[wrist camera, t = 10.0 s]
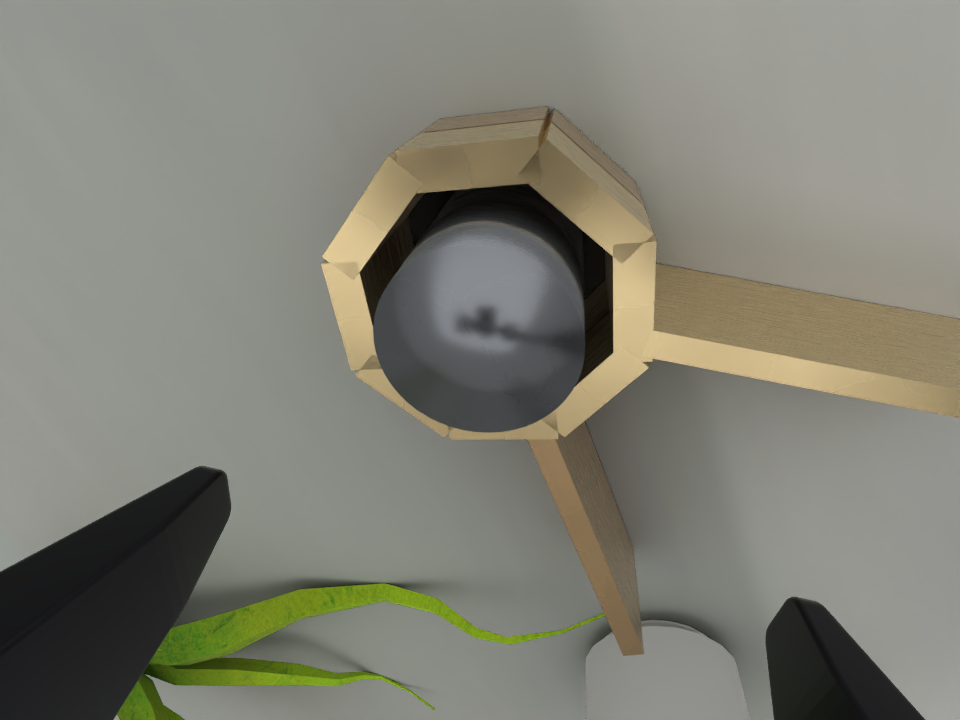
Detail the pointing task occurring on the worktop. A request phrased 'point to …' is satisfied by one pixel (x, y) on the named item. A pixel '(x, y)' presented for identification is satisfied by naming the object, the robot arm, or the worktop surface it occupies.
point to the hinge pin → (487, 312)
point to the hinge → (625, 317)
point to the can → (664, 678)
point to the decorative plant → (201, 642)
